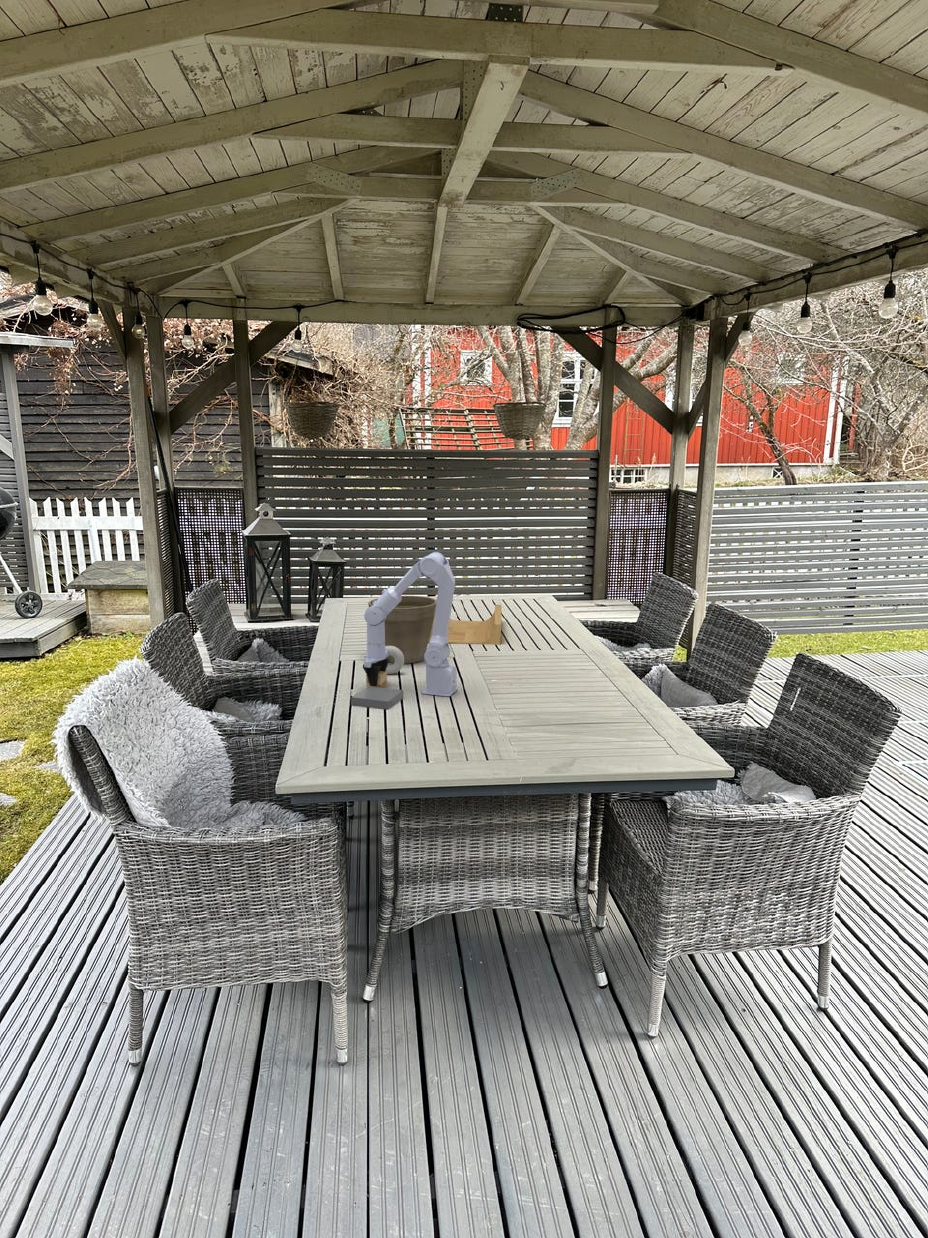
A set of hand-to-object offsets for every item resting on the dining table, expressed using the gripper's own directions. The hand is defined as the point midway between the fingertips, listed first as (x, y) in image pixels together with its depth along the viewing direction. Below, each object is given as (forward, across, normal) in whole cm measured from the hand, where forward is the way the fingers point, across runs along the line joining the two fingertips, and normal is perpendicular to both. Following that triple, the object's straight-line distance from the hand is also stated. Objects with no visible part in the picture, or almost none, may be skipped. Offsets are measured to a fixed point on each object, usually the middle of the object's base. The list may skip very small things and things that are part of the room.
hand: (376, 683), depth 256 cm
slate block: (+2, +13, +6) cm, 14 cm away
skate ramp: (+2, -83, +1) cm, 83 cm away
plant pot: (+2, -36, -5) cm, 36 cm away
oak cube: (+2, 0, 0) cm, 2 cm away
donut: (+2, -16, -2) cm, 16 cm away
